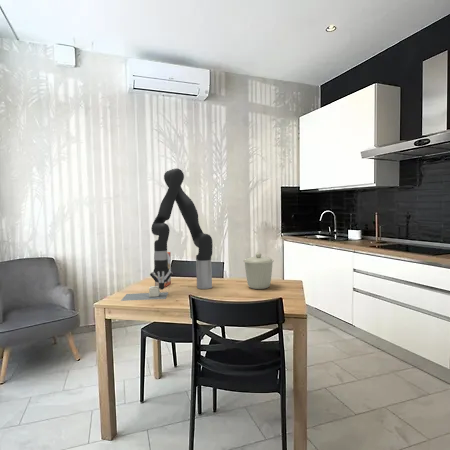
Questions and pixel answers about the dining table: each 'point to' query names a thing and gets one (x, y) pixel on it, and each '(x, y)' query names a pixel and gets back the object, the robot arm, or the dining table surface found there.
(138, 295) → the mat
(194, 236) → the robot arm
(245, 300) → the dining table surface
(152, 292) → the cube
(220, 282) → the dining table surface
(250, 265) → the canister
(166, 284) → the cracker box
